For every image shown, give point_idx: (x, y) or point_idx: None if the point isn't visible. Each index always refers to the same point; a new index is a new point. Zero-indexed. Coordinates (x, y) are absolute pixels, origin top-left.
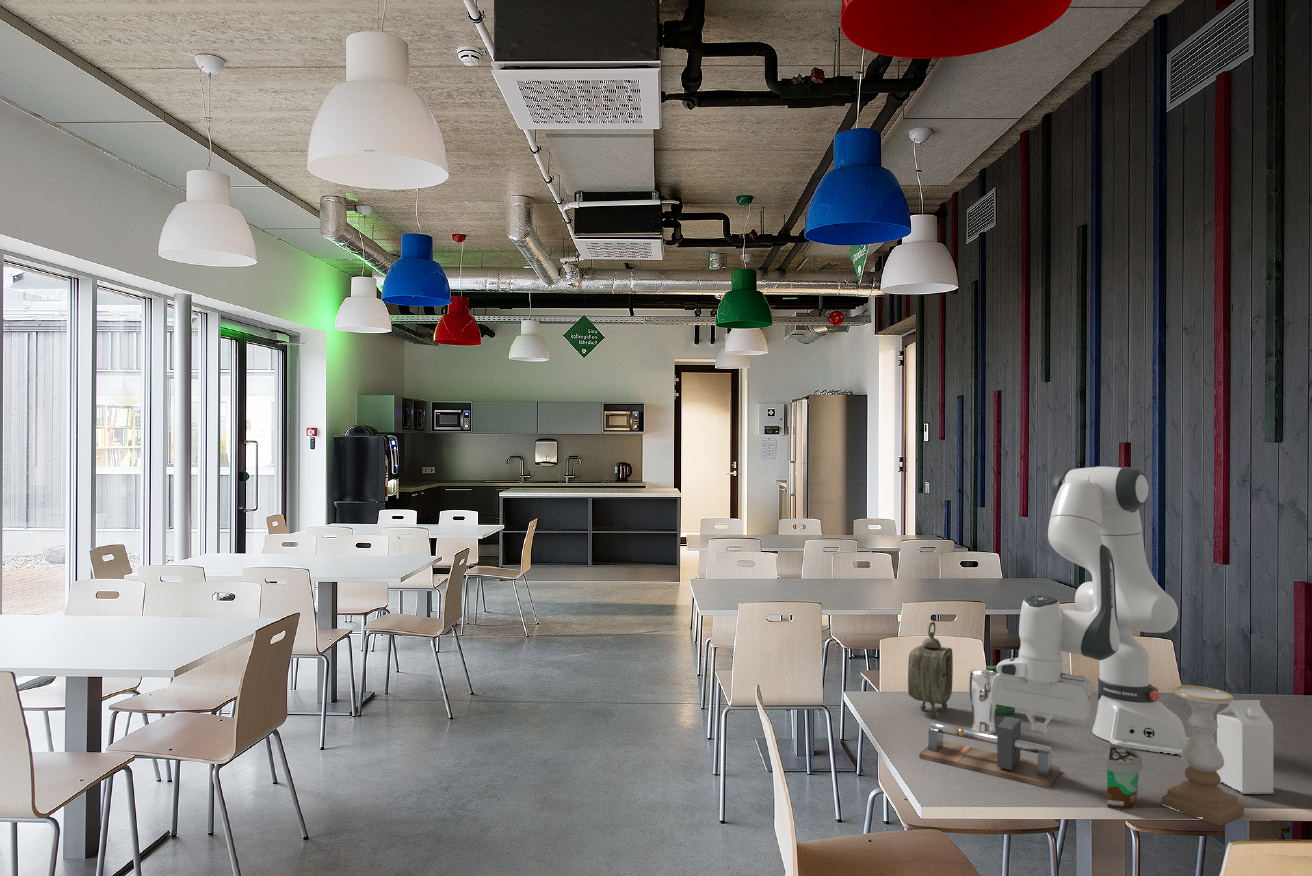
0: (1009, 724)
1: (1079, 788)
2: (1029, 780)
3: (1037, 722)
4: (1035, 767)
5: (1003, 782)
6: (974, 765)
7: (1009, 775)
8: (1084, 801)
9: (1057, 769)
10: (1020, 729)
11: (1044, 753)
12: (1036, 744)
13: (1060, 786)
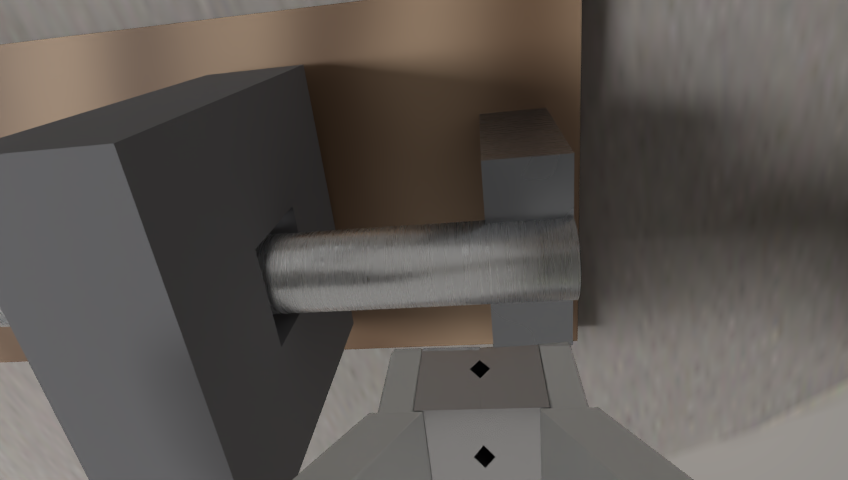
0: (160, 447)
1: (730, 211)
2: (467, 340)
3: (449, 427)
4: (437, 132)
5: (360, 386)
6: None
7: (361, 345)
8: (760, 372)
9: (577, 55)
10: (196, 117)
11: (544, 337)
12: (458, 294)
13: (621, 255)
